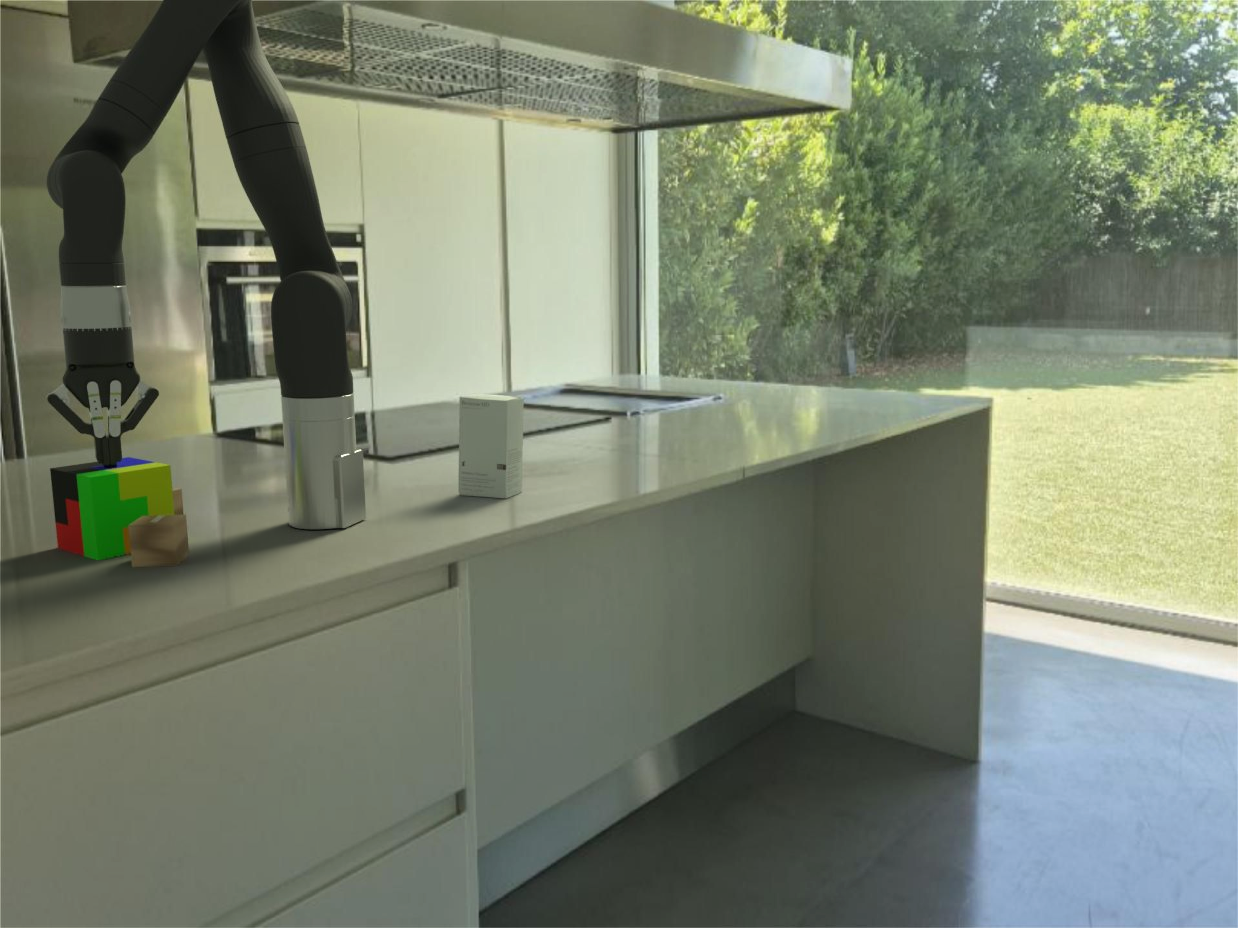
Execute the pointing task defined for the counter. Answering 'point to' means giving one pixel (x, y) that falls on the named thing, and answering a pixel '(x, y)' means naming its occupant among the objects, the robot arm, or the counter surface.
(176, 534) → the one bar block
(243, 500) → the counter surface
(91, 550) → the puzzle toy
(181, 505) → the two bar block
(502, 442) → the skincare box
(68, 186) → the robot arm
